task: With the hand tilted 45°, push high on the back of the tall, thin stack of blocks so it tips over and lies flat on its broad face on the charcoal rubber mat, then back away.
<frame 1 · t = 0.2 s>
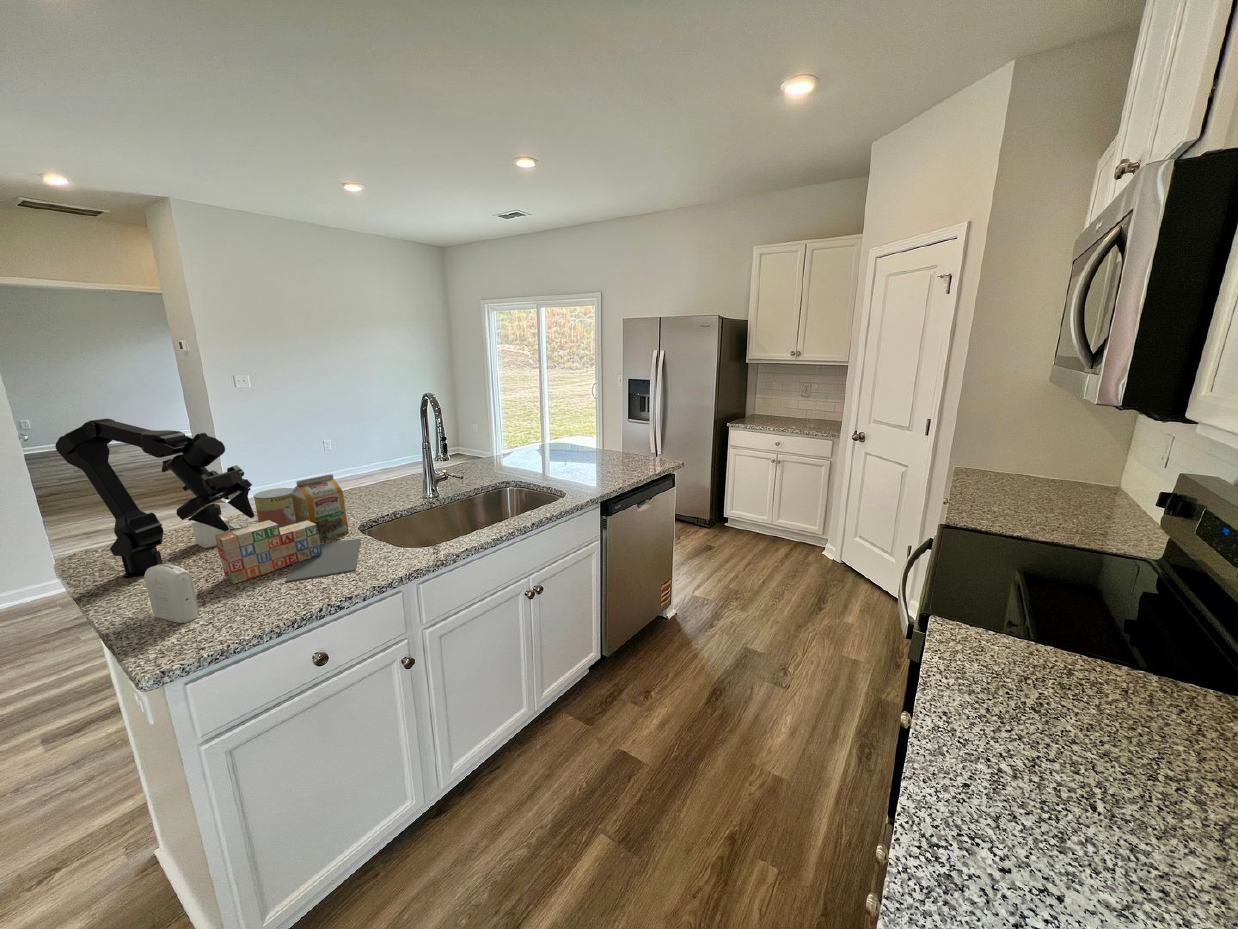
hand: (240, 523, 127), 14 cm above the countertop, tool tilted 35°, fingers open, 9 cm apart
milk carton: (323, 535, 157), on the countertop
mat: (326, 559, 139), on the countertop
photo printer: (177, 617, 110), on the countertop
canned food: (280, 527, 164), on the countertop
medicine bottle: (214, 543, 152), on the countertop
stack of blocks: (276, 566, 134), on the countertop, touching mat
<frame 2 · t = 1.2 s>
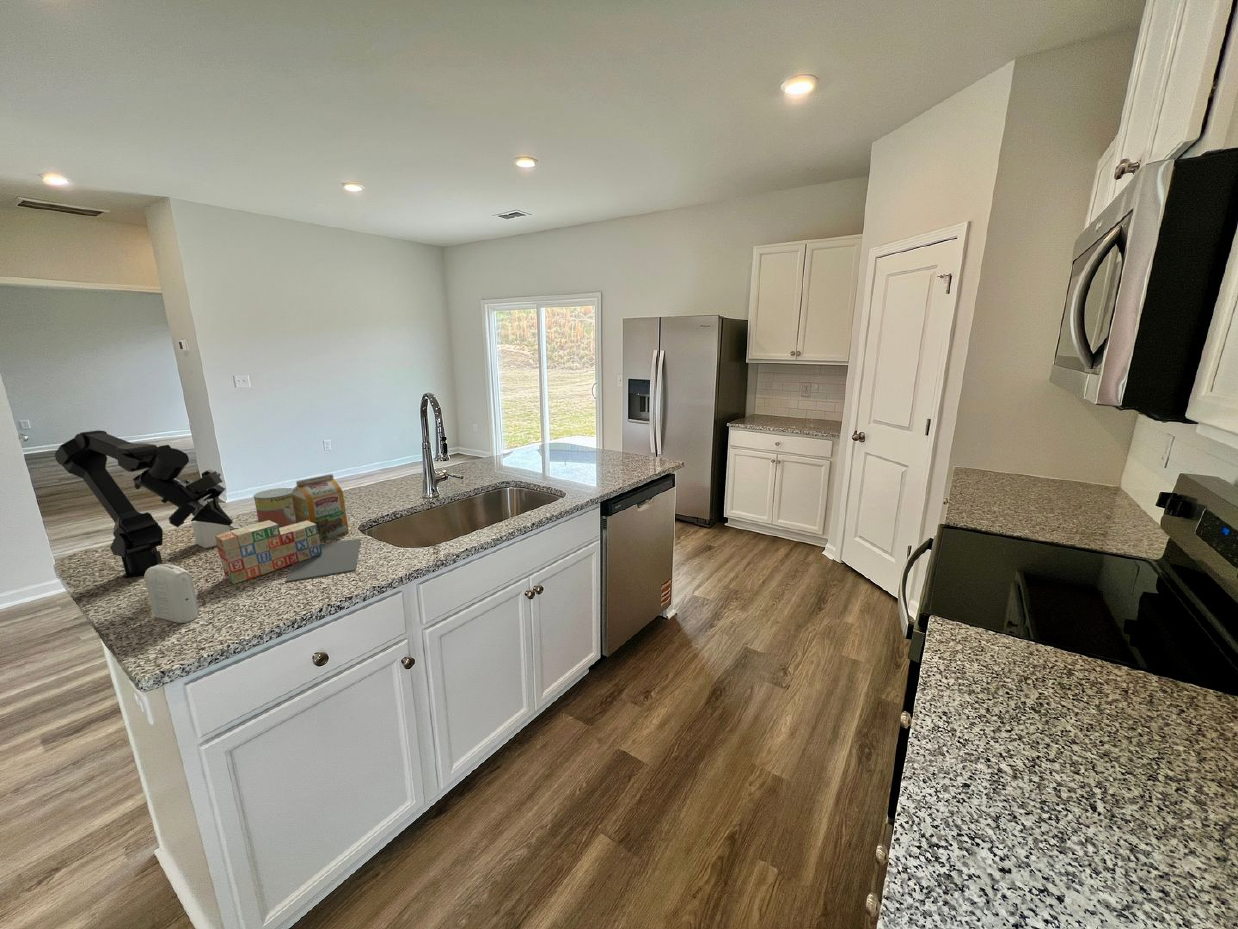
hand: (231, 523, 128), 14 cm above the countertop, tool tilted 45°, fingers closed
nothing on the countertop moved.
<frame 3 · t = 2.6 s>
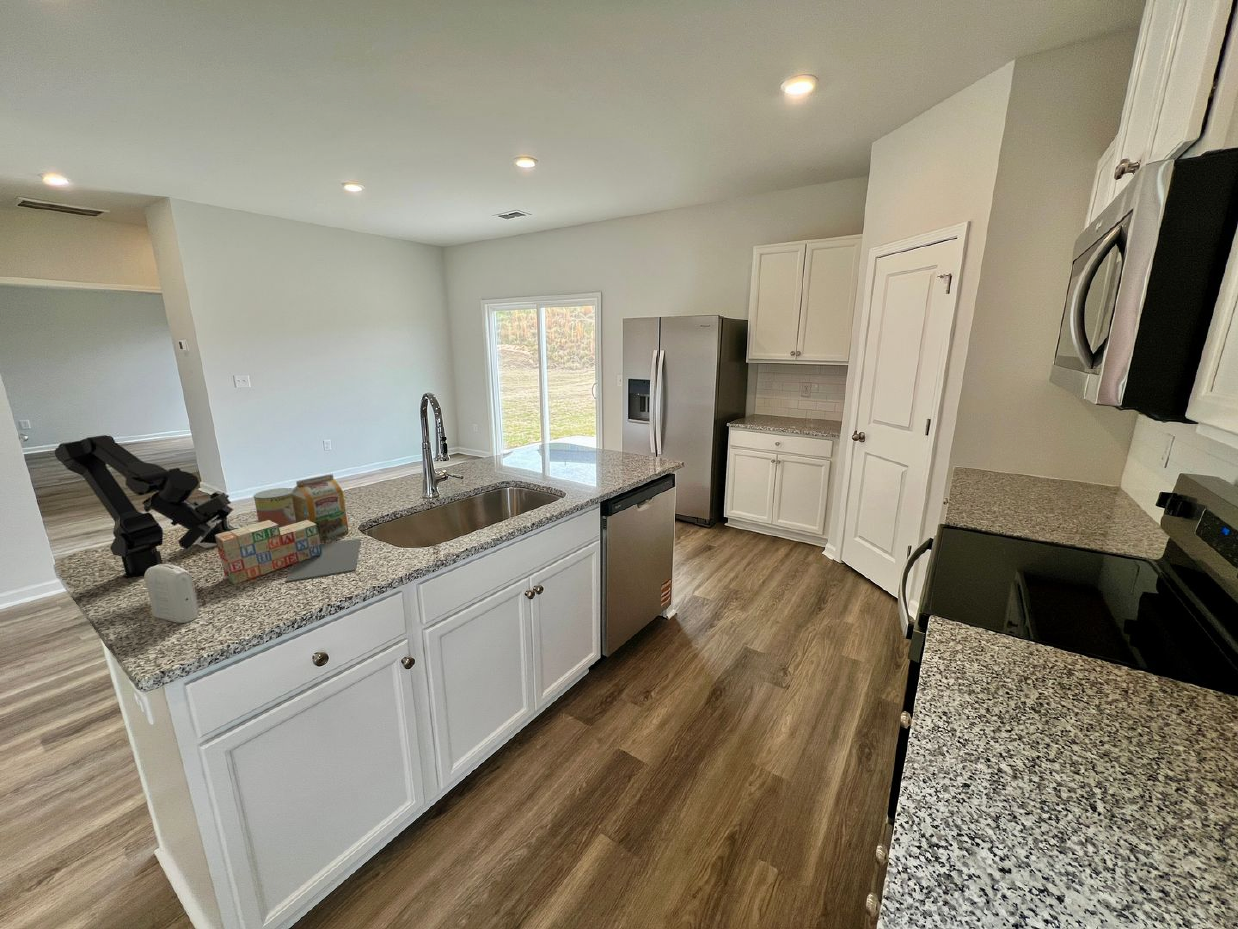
hand: (239, 544, 130), 8 cm above the countertop, tool tilted 45°, fingers closed
nothing on the countertop moved.
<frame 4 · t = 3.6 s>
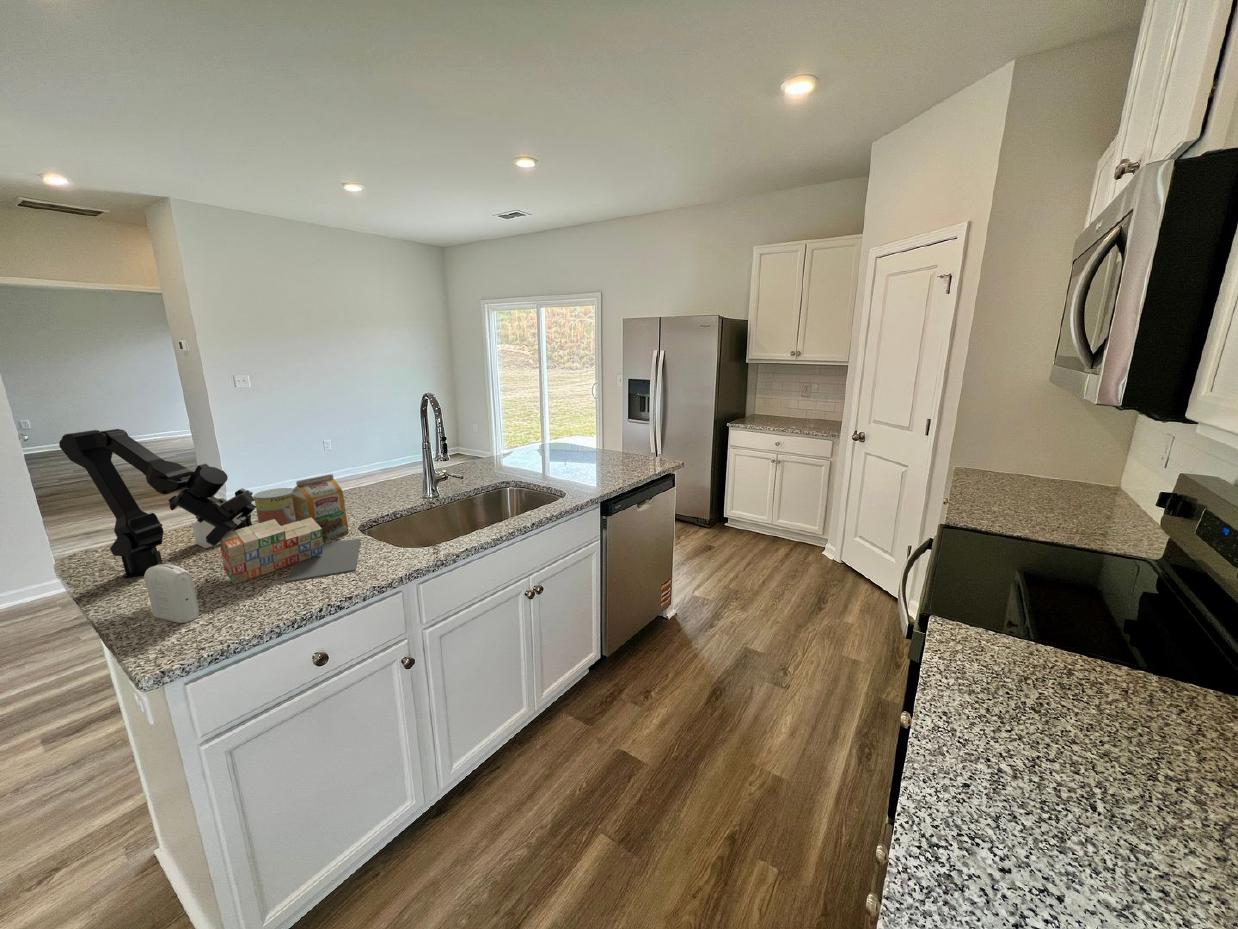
hand: (263, 541, 132), 8 cm above the countertop, tool tilted 45°, fingers closed
stack of blocks: (275, 562, 134), point 1 cm above the countertop, touching mat
everything else where it was.
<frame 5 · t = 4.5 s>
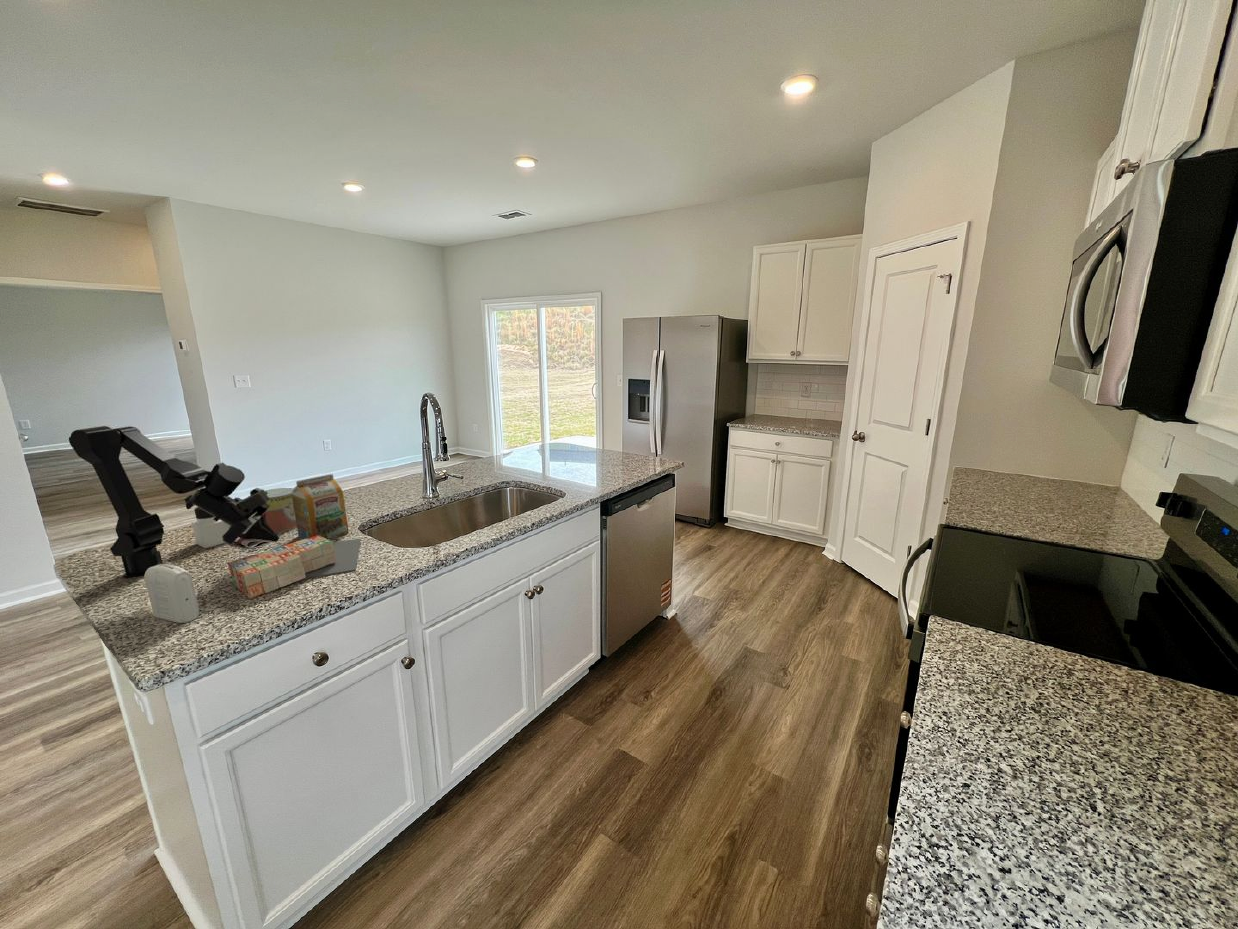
hand: (277, 540, 133), 8 cm above the countertop, tool tilted 45°, fingers closed
stack of blocks: (277, 558, 132), point 3 cm above the countertop, touching mat
everything else where it was.
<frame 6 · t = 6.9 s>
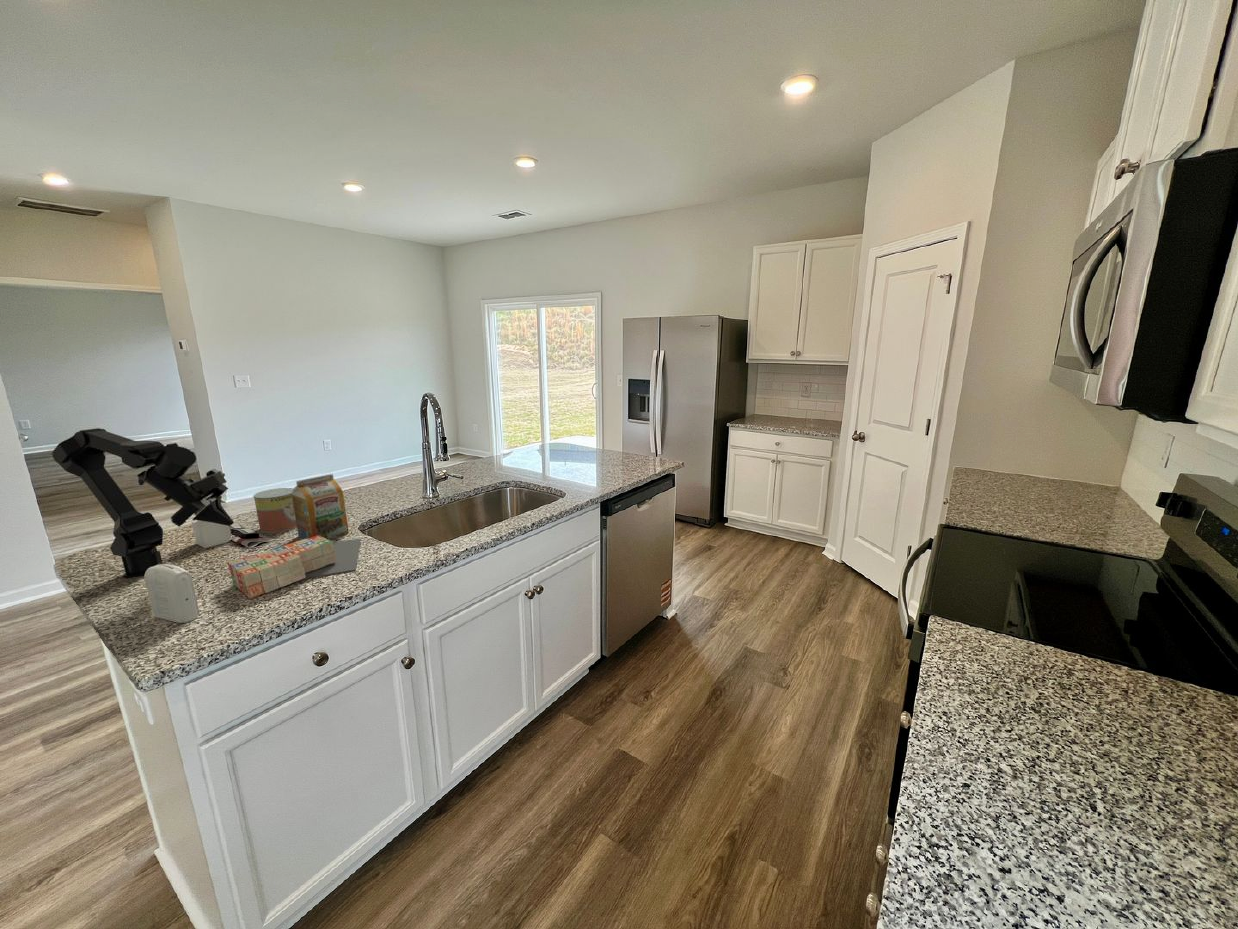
hand: (232, 524, 129), 13 cm above the countertop, tool tilted 40°, fingers closed
nothing on the countertop moved.
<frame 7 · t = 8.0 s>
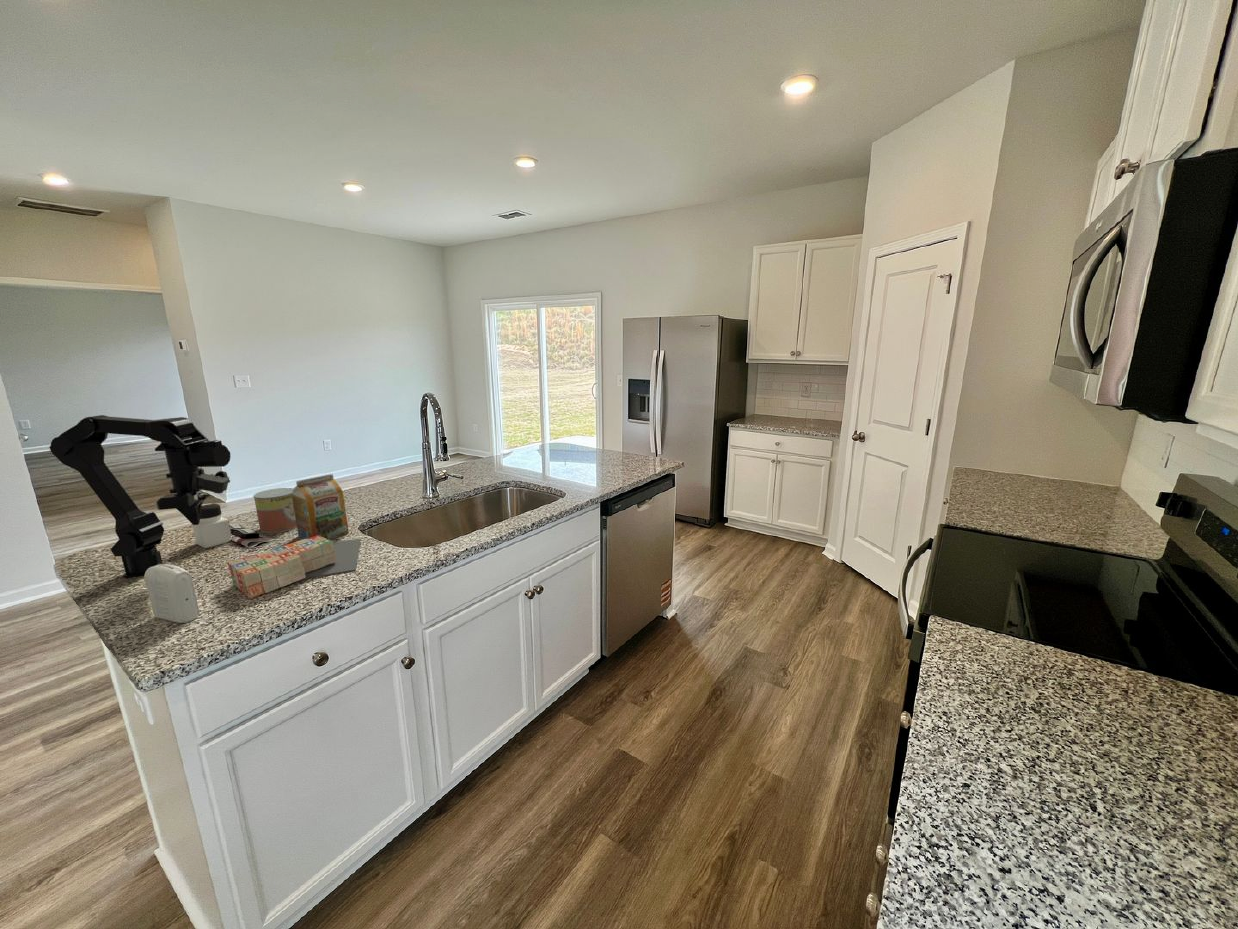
hand: (196, 524, 130), 13 cm above the countertop, tool pointing down, fingers closed
nothing on the countertop moved.
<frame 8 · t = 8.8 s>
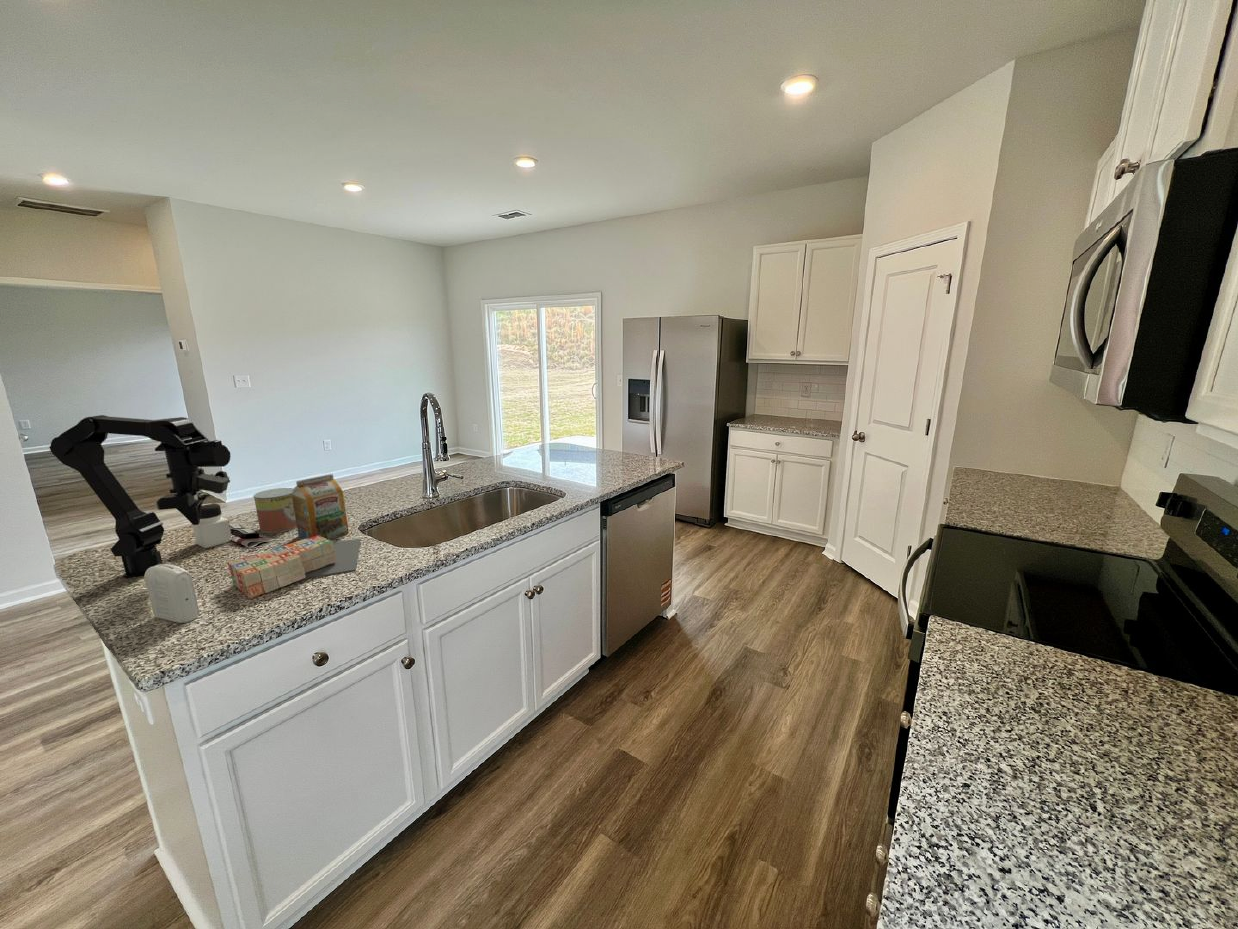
hand: (196, 524, 130), 13 cm above the countertop, tool pointing down, fingers closed
nothing on the countertop moved.
at the end: stack of blocks tilted 89°; stack of blocks touching mat, countertop; stack of blocks inside the target area (4.6 cm from its centre), point 3.4 cm above the countertop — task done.
